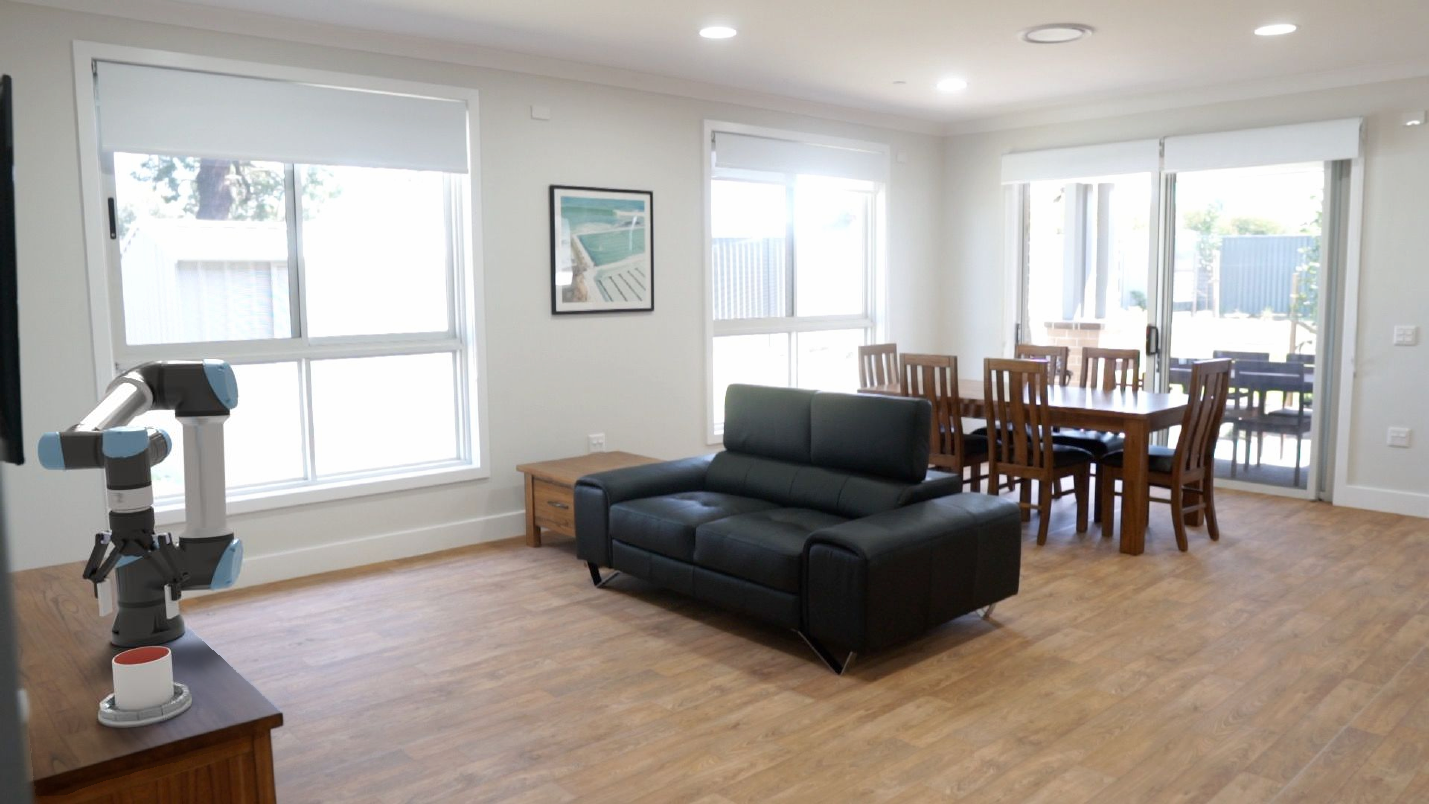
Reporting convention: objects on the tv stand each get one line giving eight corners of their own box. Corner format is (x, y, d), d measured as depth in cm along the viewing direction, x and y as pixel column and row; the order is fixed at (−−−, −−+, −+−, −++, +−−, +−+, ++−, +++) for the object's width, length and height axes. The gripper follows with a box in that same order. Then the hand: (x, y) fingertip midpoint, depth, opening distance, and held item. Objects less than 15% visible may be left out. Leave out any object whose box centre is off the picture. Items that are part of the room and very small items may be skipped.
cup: (121, 698, 201) (117, 649, 200) (177, 691, 205) (174, 643, 204) (111, 719, 192) (107, 668, 191) (170, 711, 196) (166, 661, 194)
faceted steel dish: (123, 694, 206) (122, 682, 205) (205, 691, 207) (204, 679, 207) (81, 729, 190) (80, 716, 190) (170, 726, 191) (169, 713, 191)
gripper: (55, 511, 191) (64, 619, 194) (181, 514, 189) (189, 624, 192) (83, 501, 198) (91, 606, 201) (205, 504, 196) (212, 610, 199)
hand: (139, 615), depth 196 cm, fingers open, 13 cm apart
